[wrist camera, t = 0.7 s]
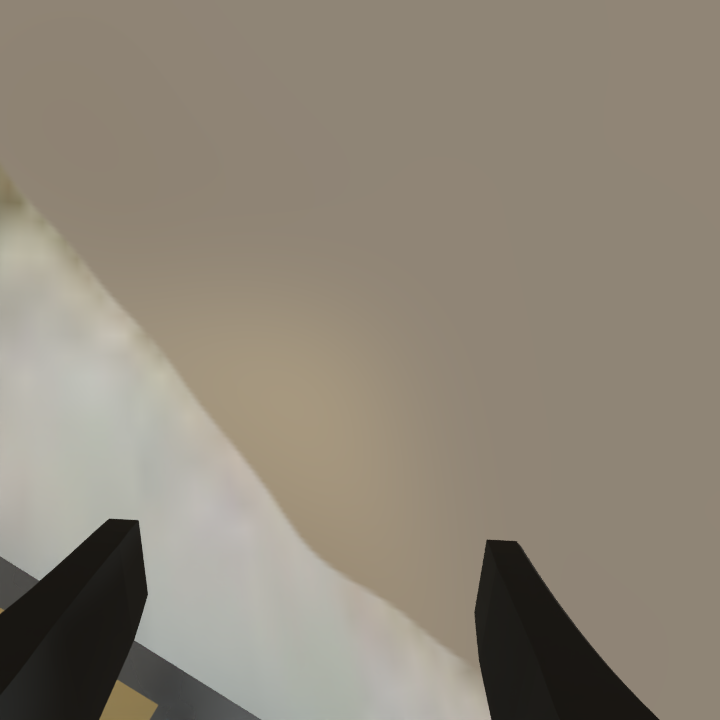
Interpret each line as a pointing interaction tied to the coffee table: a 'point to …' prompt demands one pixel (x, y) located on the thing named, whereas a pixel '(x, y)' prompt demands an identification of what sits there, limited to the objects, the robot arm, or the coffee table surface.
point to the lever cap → (126, 704)
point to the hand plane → (145, 670)
